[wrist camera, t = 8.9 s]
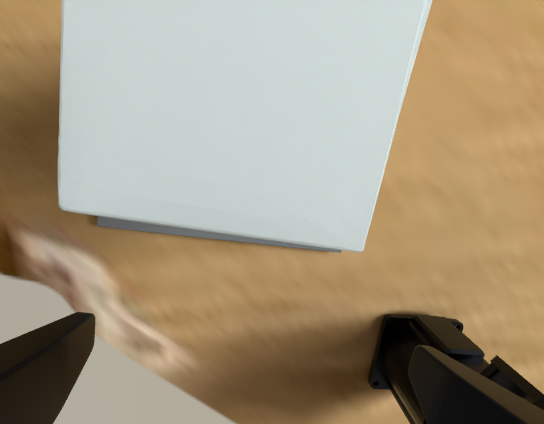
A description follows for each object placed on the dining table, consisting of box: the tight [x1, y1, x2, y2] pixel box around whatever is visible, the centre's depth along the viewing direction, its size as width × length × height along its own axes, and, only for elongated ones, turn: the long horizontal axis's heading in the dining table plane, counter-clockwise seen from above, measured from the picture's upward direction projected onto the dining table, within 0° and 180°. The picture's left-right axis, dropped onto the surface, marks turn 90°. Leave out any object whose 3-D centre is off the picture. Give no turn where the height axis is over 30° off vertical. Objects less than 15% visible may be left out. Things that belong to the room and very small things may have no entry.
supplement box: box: [58, 0, 432, 252], centre depth 12 cm, size 7×7×13 cm
